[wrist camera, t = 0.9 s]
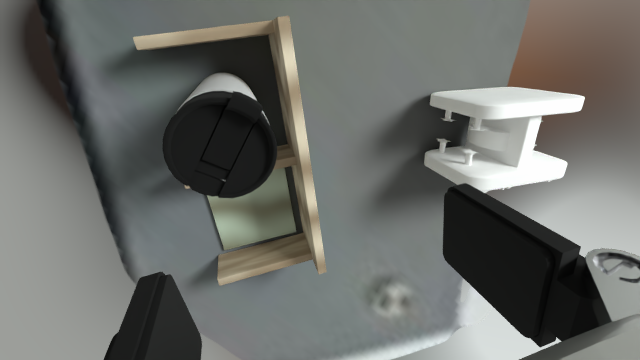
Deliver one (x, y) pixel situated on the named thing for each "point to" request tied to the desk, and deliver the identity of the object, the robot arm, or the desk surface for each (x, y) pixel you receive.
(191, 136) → the travel mug
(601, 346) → the robot arm
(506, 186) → the cable organizer
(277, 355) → the desk surface
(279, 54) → the desk dock
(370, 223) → the desk surface
